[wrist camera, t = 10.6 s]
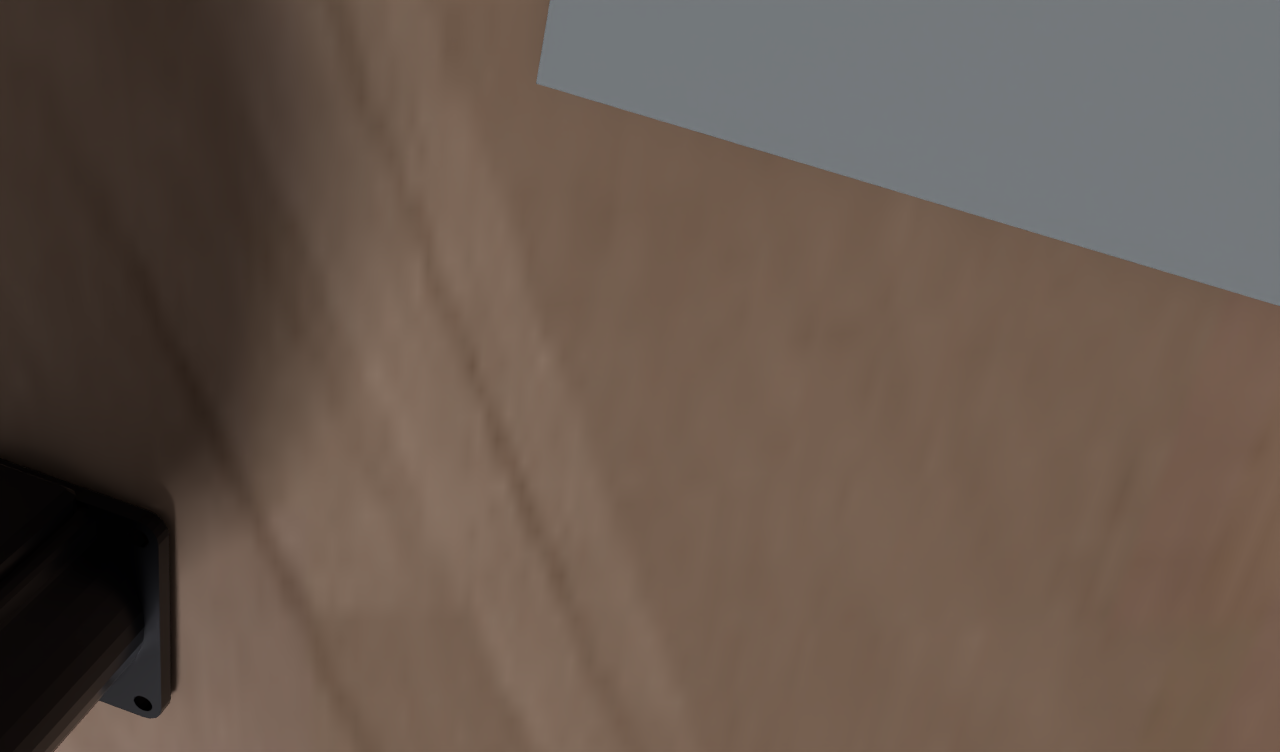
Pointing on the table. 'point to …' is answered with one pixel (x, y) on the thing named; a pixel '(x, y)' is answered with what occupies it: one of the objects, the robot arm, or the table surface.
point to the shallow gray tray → (980, 108)
